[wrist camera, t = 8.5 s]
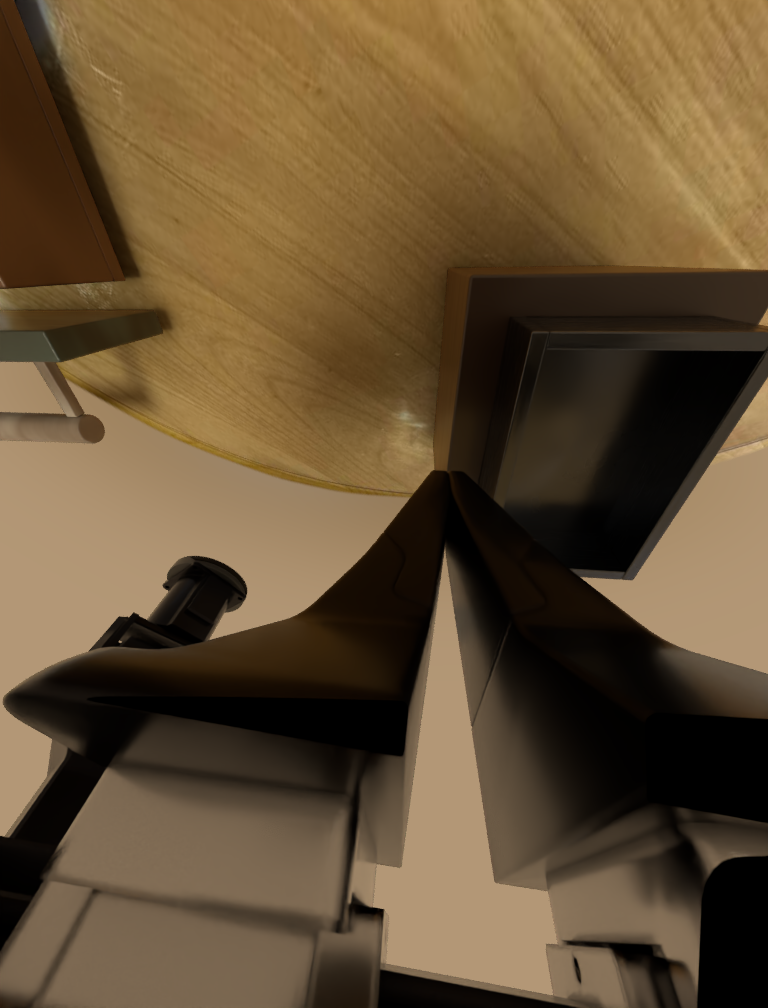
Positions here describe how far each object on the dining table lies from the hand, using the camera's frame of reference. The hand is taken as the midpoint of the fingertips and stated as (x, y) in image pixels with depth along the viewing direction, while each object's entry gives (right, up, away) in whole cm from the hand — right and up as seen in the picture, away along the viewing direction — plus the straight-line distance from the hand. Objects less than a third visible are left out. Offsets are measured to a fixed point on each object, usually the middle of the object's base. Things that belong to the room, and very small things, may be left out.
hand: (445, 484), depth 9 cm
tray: (+5, +2, +3) cm, 6 cm away
